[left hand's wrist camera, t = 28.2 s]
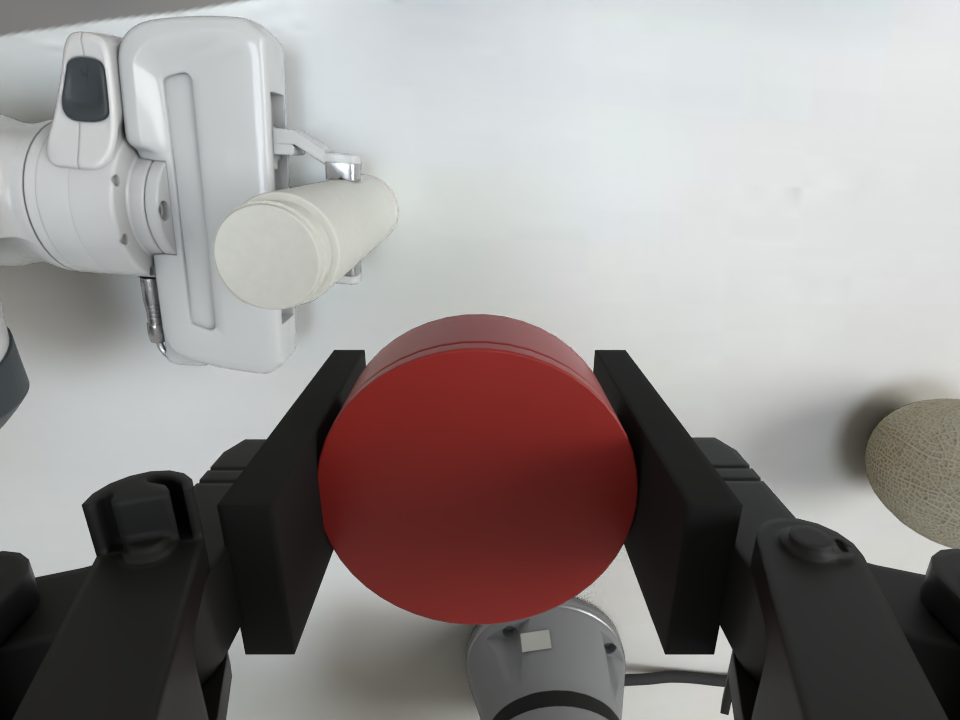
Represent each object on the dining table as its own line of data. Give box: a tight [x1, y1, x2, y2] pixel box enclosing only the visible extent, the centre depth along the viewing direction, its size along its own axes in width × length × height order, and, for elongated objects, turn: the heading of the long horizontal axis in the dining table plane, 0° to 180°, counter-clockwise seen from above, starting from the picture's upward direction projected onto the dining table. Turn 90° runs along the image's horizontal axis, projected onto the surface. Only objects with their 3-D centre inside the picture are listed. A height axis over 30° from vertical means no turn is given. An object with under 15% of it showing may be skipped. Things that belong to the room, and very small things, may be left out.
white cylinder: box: [213, 175, 398, 310], centre depth 31 cm, size 5×5×20 cm
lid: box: [317, 314, 638, 625], centre depth 11 cm, size 6×6×2 cm
